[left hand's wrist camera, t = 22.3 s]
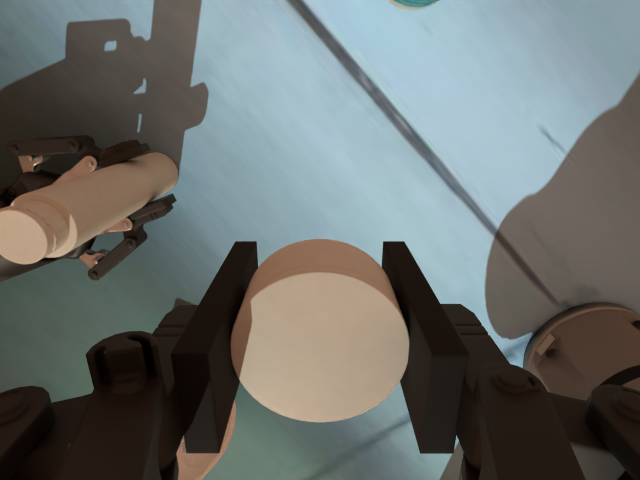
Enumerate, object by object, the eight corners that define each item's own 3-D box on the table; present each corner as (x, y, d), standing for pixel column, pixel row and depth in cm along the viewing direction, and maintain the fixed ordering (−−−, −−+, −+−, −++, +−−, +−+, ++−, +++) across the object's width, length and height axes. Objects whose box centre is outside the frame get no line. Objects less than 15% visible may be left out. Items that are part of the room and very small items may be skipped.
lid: (247, 231, 11) (230, 263, 9) (405, 245, 11) (425, 279, 9) (244, 363, 13) (228, 416, 11) (382, 373, 13) (394, 428, 11)
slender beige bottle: (186, 172, 40) (70, 237, 21) (162, 200, 41) (31, 285, 22) (154, 143, 39) (2, 185, 20) (130, 172, 40) (-36, 238, 21)
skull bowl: (116, 440, 50) (92, 484, 39) (180, 343, 54) (176, 357, 42) (187, 475, 52) (185, 528, 41) (244, 379, 56) (257, 402, 44)
